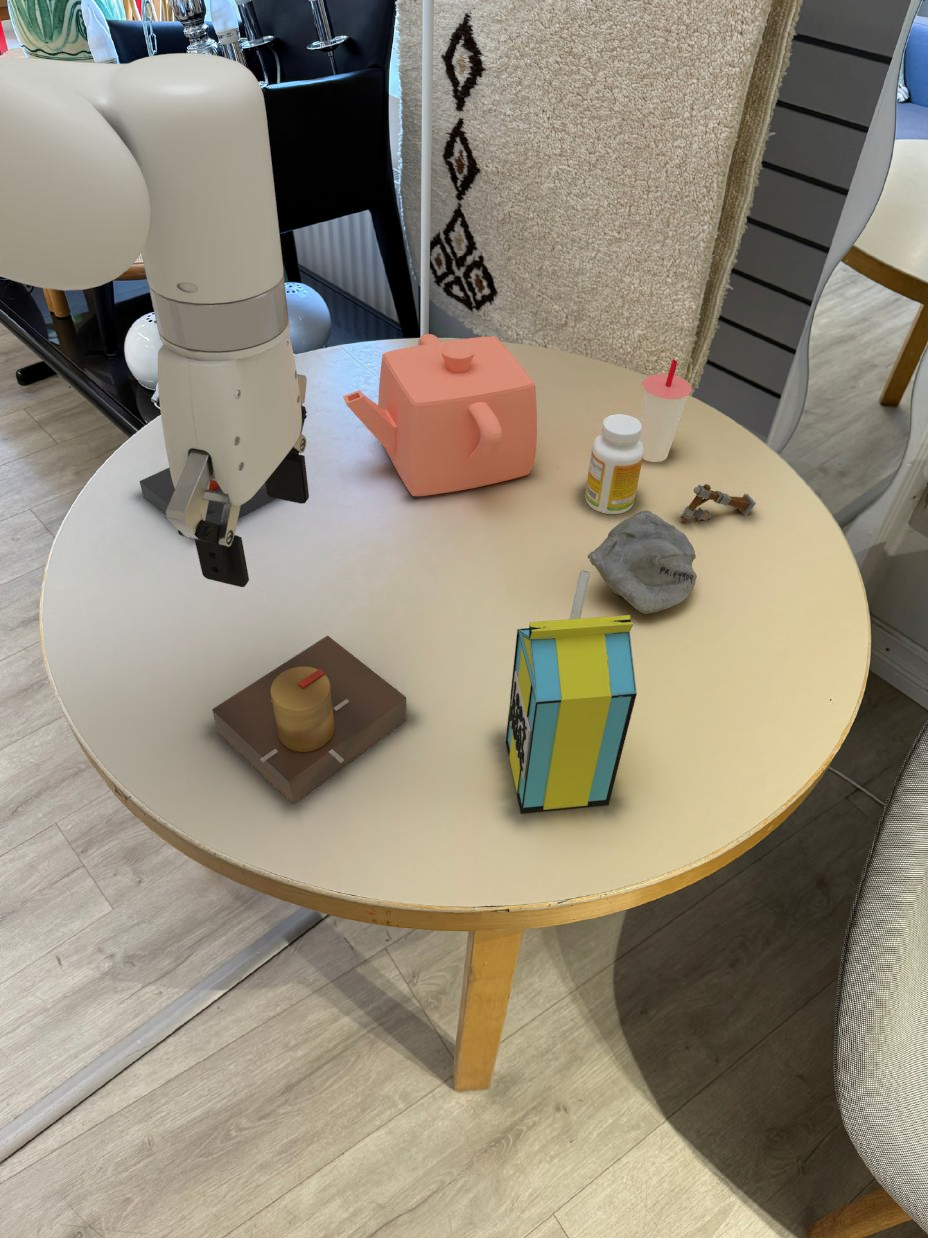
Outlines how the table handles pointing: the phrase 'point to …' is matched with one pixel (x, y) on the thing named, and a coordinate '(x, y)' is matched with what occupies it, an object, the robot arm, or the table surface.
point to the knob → (303, 708)
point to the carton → (570, 708)
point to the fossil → (647, 562)
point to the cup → (662, 412)
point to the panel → (358, 713)
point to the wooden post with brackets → (704, 492)
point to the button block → (162, 489)
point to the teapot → (453, 414)
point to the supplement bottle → (615, 465)
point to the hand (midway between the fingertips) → (259, 537)
